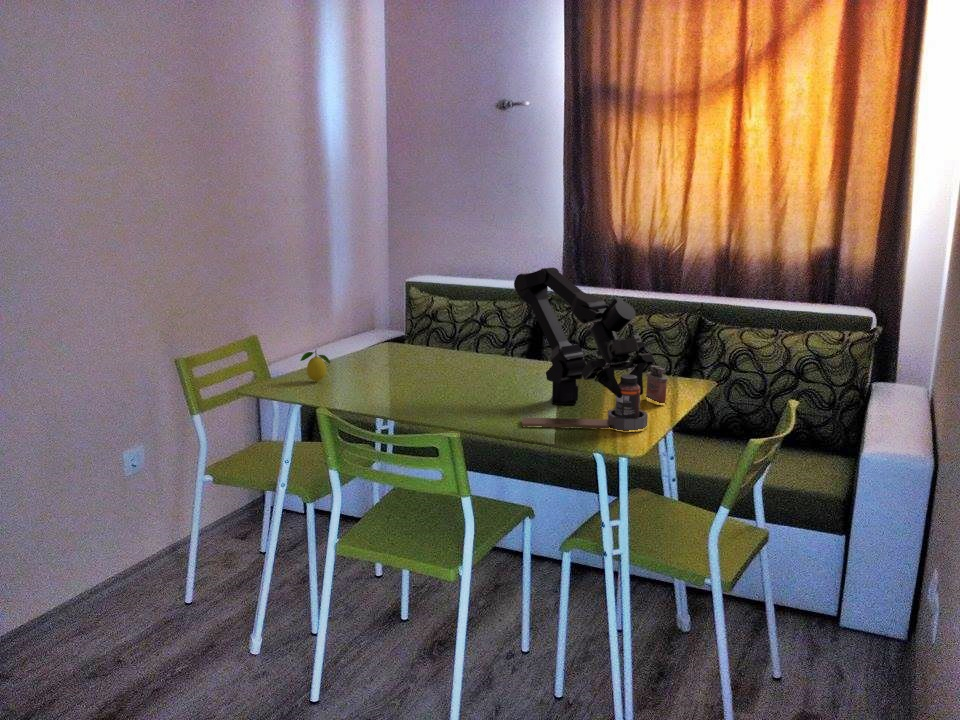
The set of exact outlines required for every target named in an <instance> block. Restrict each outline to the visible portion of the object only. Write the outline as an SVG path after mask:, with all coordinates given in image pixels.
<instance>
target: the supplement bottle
mask: <svg viewBox="0 0 960 720" xmlns="http://www.w3.org/2000/svg"><path fill="white" fill-rule="evenodd" d="M618 386H619V388H620V390H621V393H622V397H621V398H618V397H617V396H616V395H615V407H614V409H615V416H616V417H621V418H639V410H640V406H641V405H640V404H641V395H640V386H639V385H638V384H637V376H635V375H631V374H630V373H626V374H621V375H620V382H619V383H618Z"/></svg>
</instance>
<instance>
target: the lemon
mask: <svg viewBox="0 0 960 720" xmlns="http://www.w3.org/2000/svg"><path fill="white" fill-rule="evenodd" d="M314 353H315V355H314V356H313V354H314ZM311 356H313V357H311ZM310 357H311V359H309V361H308V363H307V367H306V374H307V376H308V378H309V379H311V380H313V381H315V382H316V383H319V382H320V380H323V379H324V378H325V377H326V375H327V365H326V363H327V364H331V361H330V359H329V358H328V357H327V356H326V355H325V354H318V353H317V350H315V351H313V352H312V351H308V352H305V353H304V354H303V355H302V357H301V358H300V360H299V361H300V362H302V361H305V360H307V359H308V358H310ZM325 362H326V363H325Z"/></svg>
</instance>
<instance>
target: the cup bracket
mask: <svg viewBox="0 0 960 720" xmlns="http://www.w3.org/2000/svg"><path fill="white" fill-rule="evenodd" d="M606 418H607V419H601V418H600V419H599V418H598V419H596V418H595V419H594V418H562V417H560V418H557V417H556V418H555V417H554V418H553V417H527V416H526V417H525V416H523V417H521V427H522V426H542V427H582V428H609V427H610V428H613V429H617V430H623V431H629V430H638V429H643V428H645V427H646V426H647V427H648V420H649V419H648V413H647V411H644V410H642V409H639V418H621V417H616V416H615V408H611V409H610V410H607V417H606Z"/></svg>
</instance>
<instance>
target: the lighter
mask: <svg viewBox="0 0 960 720" xmlns="http://www.w3.org/2000/svg"><path fill="white" fill-rule="evenodd" d="M665 375H666V369H665V368H663V367H661V366H660V365H654V364H652V365H651V366H650V371H648V372H647V371H646V391H645V392H646V393H645V396H646V397H648V398H650V399H652V400H654V401H657V402H659V403H665V401H666V400H667V399H666V398H667V385H668V384H667V382H668V379H669V378H668V377H666V376H665ZM666 402H667V401H666Z"/></svg>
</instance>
